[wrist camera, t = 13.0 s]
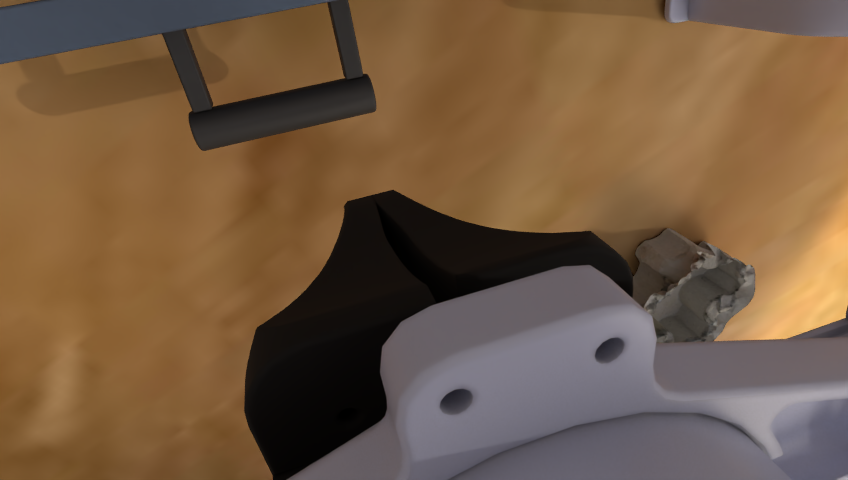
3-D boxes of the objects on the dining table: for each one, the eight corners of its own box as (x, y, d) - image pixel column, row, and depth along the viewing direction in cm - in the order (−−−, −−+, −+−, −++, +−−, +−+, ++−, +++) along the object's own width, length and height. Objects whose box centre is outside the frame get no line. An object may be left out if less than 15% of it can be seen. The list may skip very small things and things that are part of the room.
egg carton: (655, 214, 30) (707, 247, 26) (729, 249, 33) (783, 282, 30) (561, 351, 33) (596, 396, 30) (636, 371, 37) (676, 413, 33)
